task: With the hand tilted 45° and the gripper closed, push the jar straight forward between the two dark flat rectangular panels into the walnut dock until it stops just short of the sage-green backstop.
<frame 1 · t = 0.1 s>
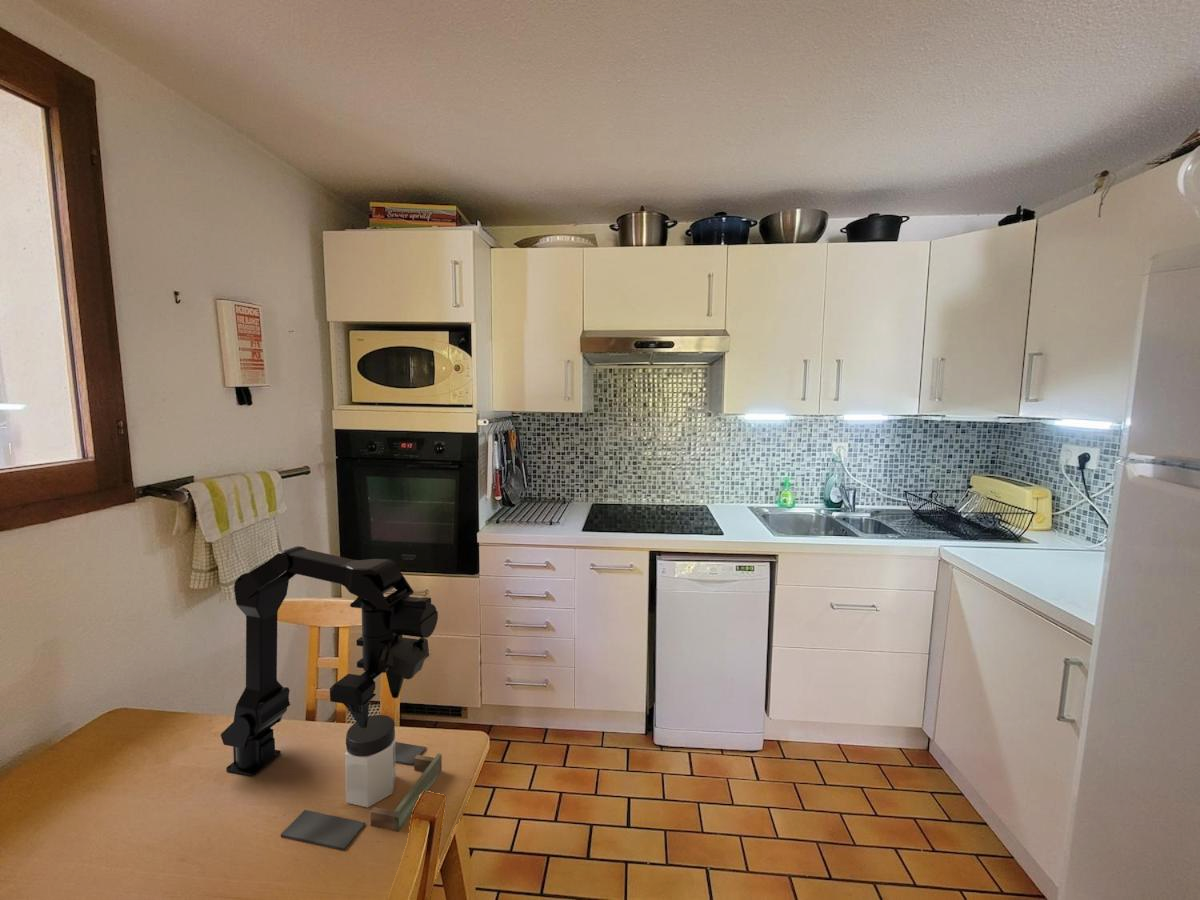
hand: (380, 711, 89), 15 cm above the table, tool pointing down, fingers open, 9 cm apart
jar: (371, 790, 89), on the table
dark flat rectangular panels: (390, 792, 88), on the table
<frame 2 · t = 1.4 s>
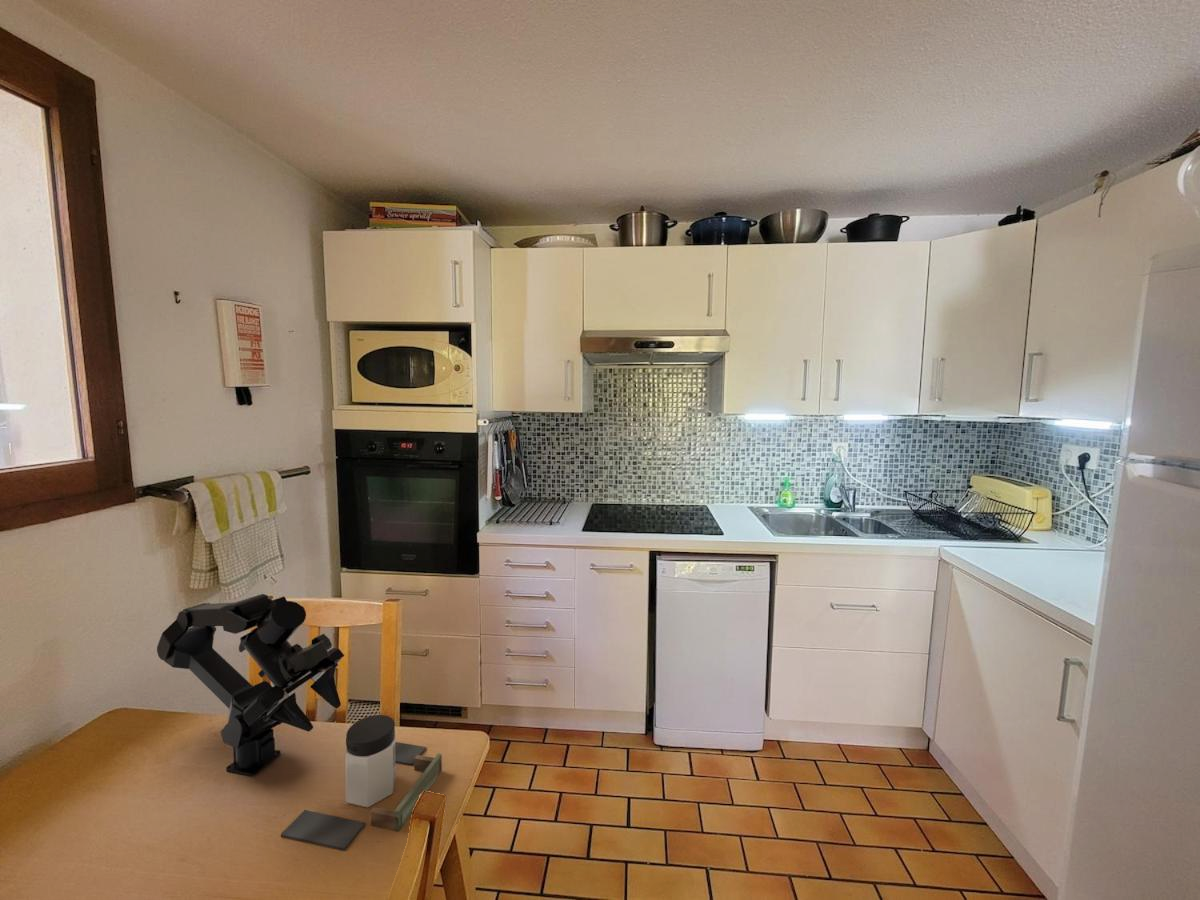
hand: (325, 717, 90), 12 cm above the table, tool tilted 45°, fingers open, 7 cm apart
nothing on the table moved.
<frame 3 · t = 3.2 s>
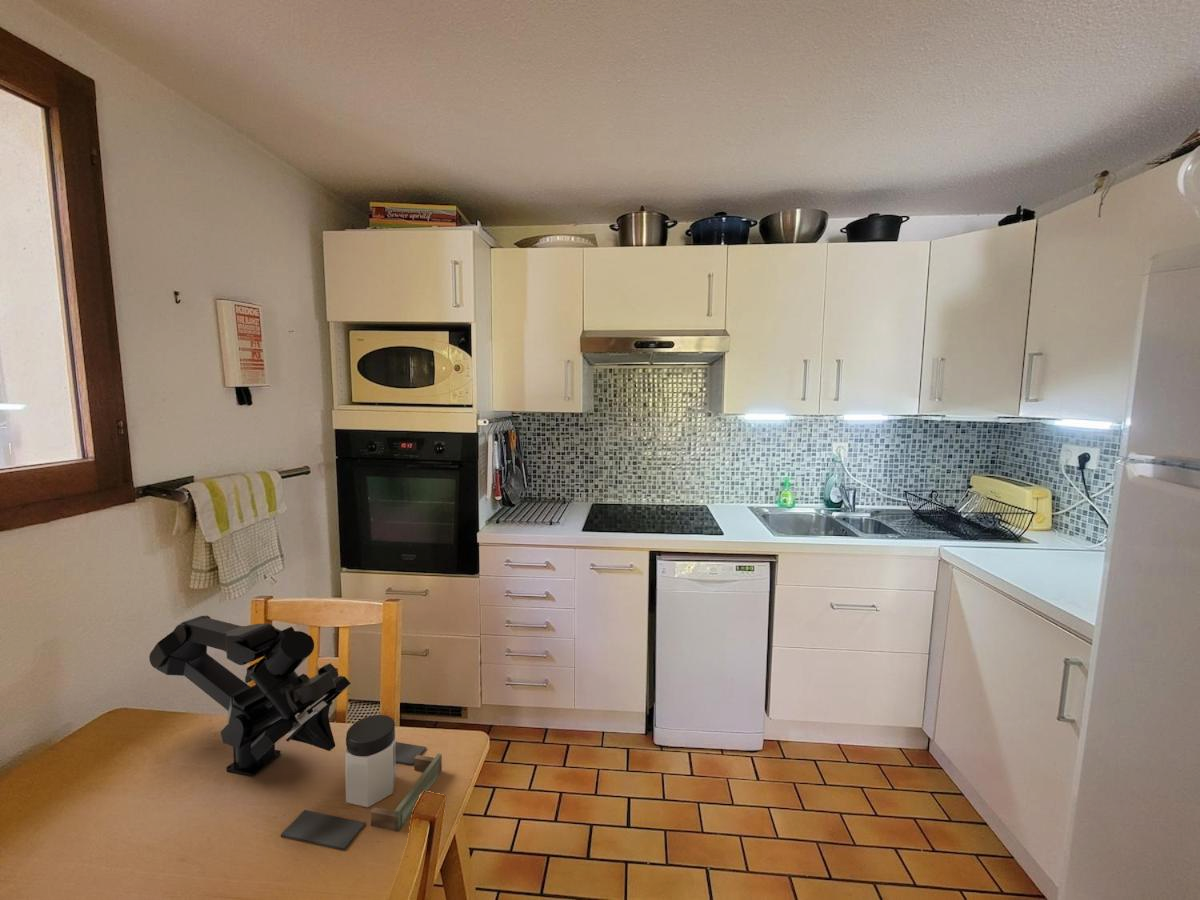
hand: (332, 748, 90), 7 cm above the table, tool tilted 45°, fingers closed
nothing on the table moved.
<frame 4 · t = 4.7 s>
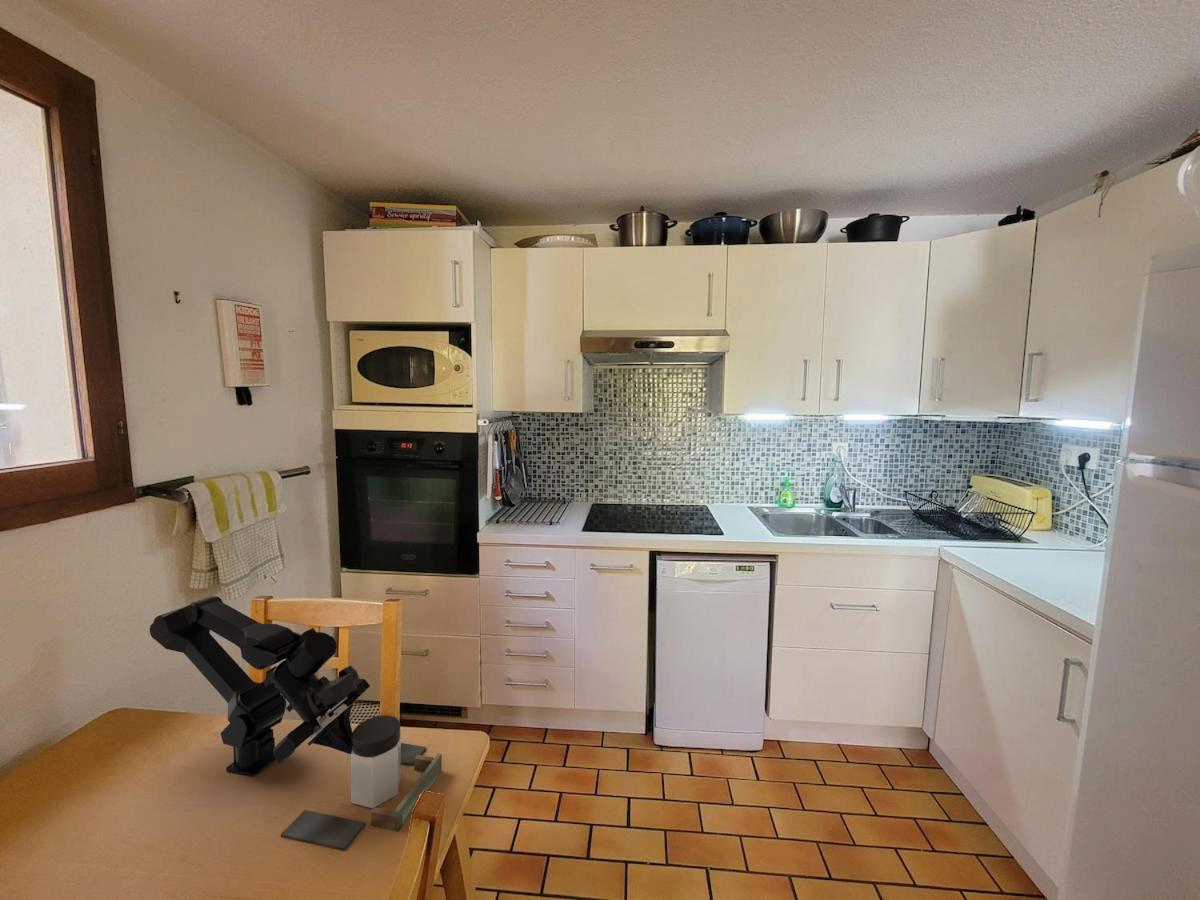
hand: (354, 751, 89), 7 cm above the table, tool tilted 45°, fingers closed, pressing on jar
jar: (376, 791, 89), on the table, touching gripper
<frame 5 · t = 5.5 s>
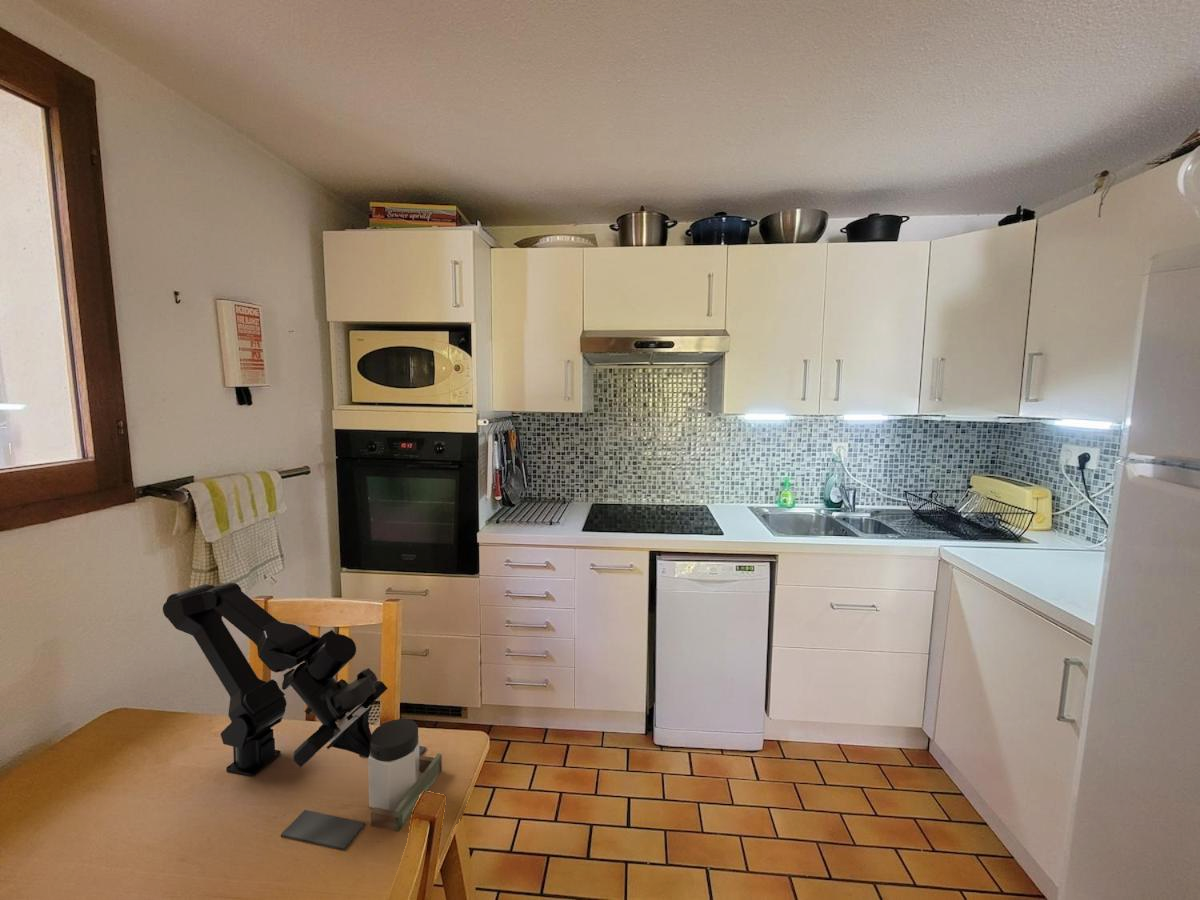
hand: (373, 755, 89), 7 cm above the table, tool tilted 45°, fingers closed, pressing on jar
jar: (394, 795, 88), on the table, touching gripper
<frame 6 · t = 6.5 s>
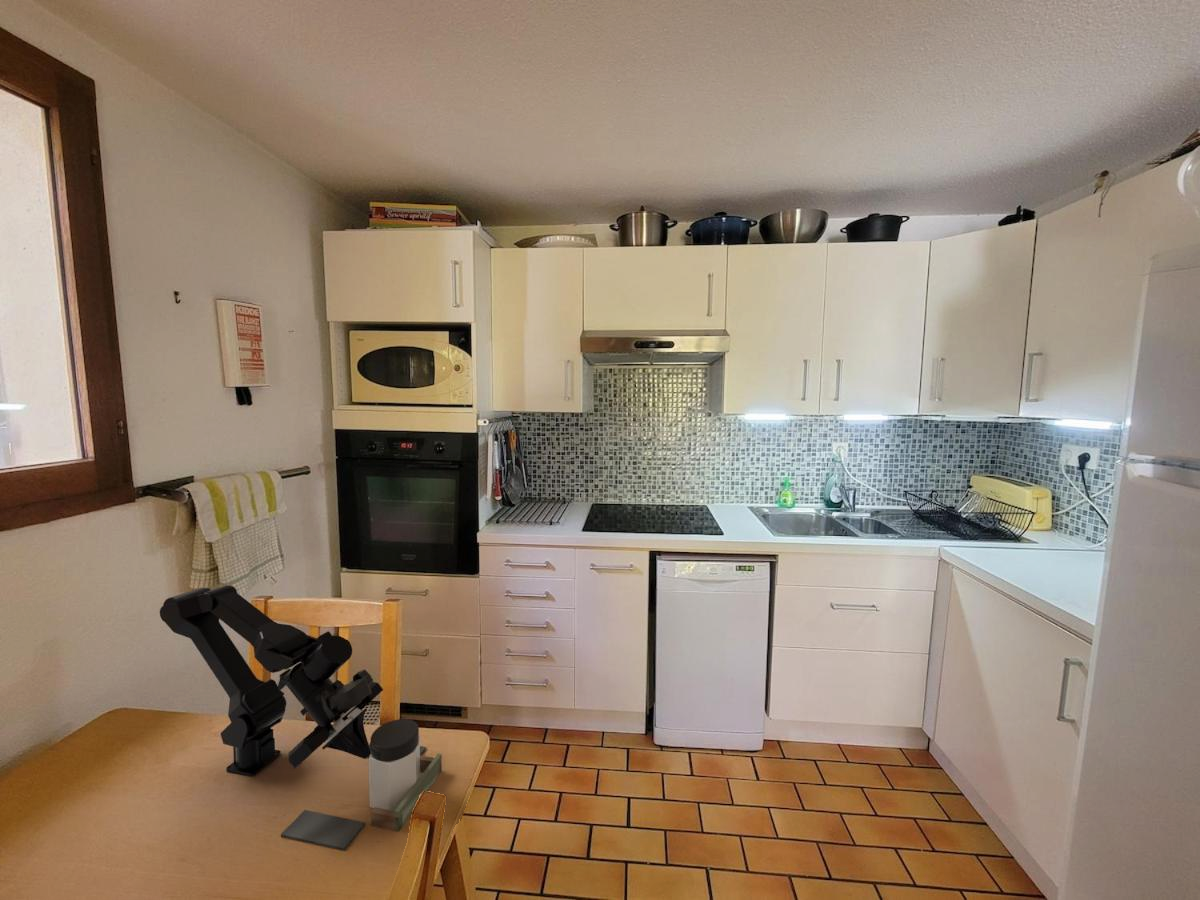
hand: (368, 756, 89), 6 cm above the table, tool tilted 45°, fingers closed
jar: (395, 795, 88), on the table
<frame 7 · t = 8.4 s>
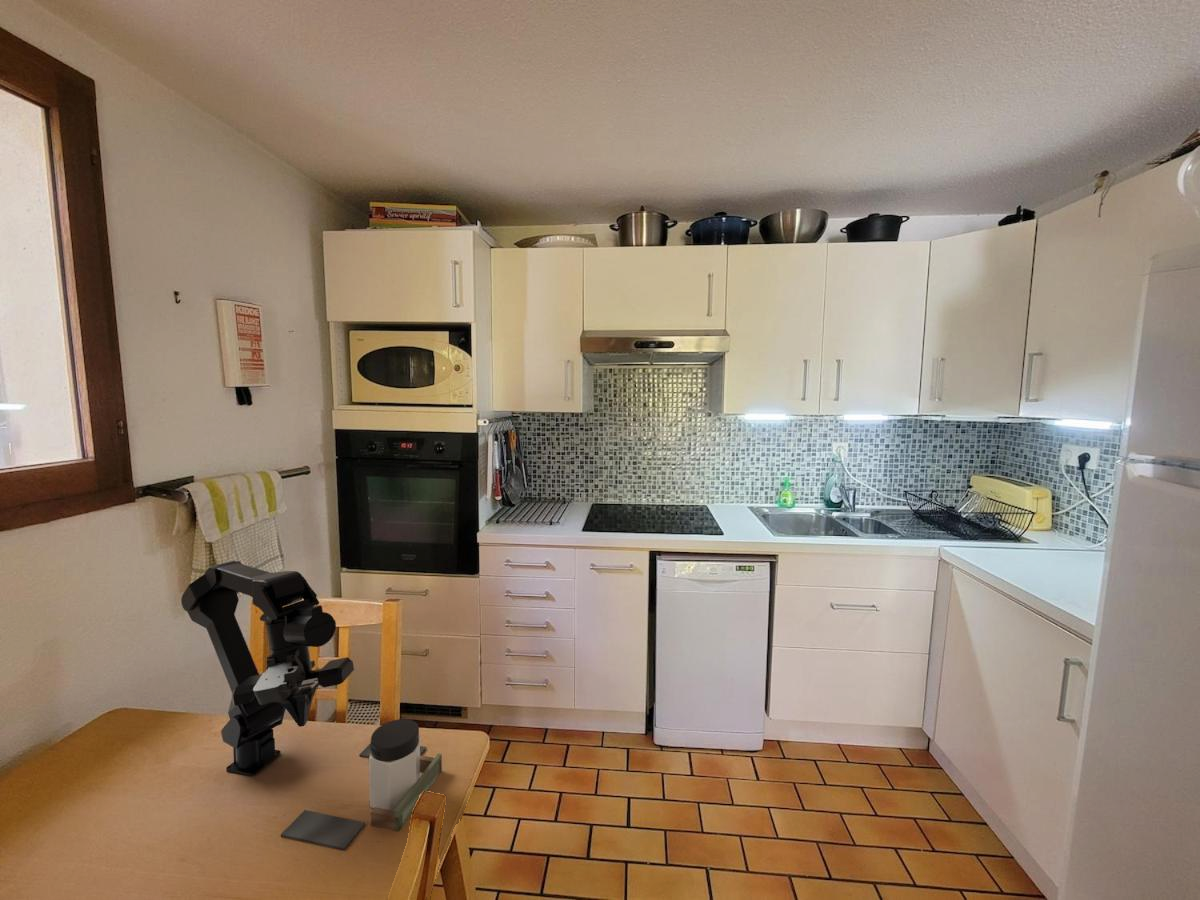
hand: (302, 725, 88), 12 cm above the table, tool pointing down, fingers closed
nothing on the table moved.
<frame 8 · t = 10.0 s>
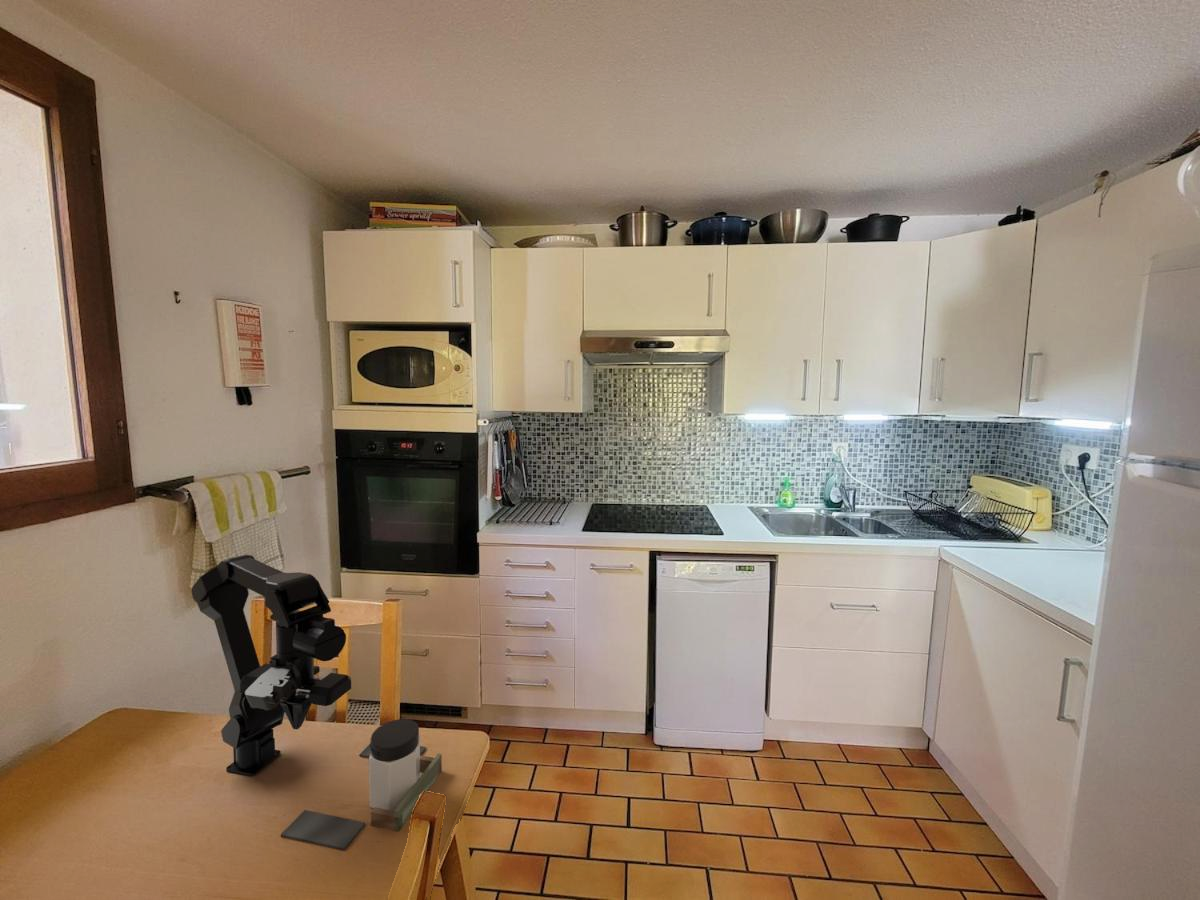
hand: (297, 727, 88), 12 cm above the table, tool pointing down, fingers closed
nothing on the table moved.
at the end: jar 0.1 cm from the target spot, on the table; jar tilted 0° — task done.
